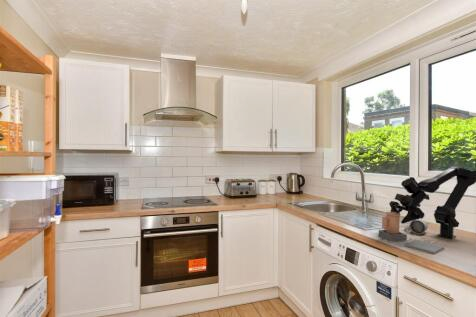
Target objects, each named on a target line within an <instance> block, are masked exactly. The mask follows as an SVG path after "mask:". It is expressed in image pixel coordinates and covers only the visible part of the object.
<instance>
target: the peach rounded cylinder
mask: <svg viewBox="0 0 476 317" xmlns="http://www.w3.org/2000/svg"><path fill="white" fill-rule="evenodd" d="M400 217H401V212H400V213H396V212H390V211H386V212H385V215H384V216H381V219H382V220H381V228H382V230H386V233H388V234H391V235H395V234H399V232H400V222H401V220H400V219H401V218H400Z"/></svg>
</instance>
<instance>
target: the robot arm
mask: <svg viewBox="0 0 476 317" xmlns="http://www.w3.org/2000/svg"><path fill="white" fill-rule="evenodd" d="M455 177H456V184H455V186H454V188H453V189H452V191H451V193H450V194H449V195H448V198H447V199H446V201H445V203H444V204H443V205H437V207H436V209H435V210H434V211H433V212H434V214H433V216H434V220H435V223H436V224H439V233H438V234H437V235H436V236H437V237H441V238H446V239H451V240H452V239H454V238H456V237H457V236H456V235H454V232H455V231H454V228H458V227H459V225H460V222H459V221H458V220H457V218H456V215H457V213H456V209H457V207H458V206H459V204H460V202H461V200H462V198H463V197H464V195H465V193H466V192H467V190H468V188H469V187H471V186H473V185H475V184H476V170H473V169H466V168H462V167H460V166H449V167H448V168H447V169H446V170H444V171H442V172H441V173H438V174H437V175H436V176H434V177H432V178H426V179H424V180H420V181H419V182H418V181H417V180H416V178H415V177H411V176H410V177H409V178H406V179H404V180H402V182H401V183H400V184H401V186H402V187H403V189H404V190H405V191H406V193H408V194H400V193H396V195H395V197H394V200H396V201H394V200H390V202H389V203H388V204H389V207H390V210H389V212H396V213H400V214H401V212H402V211H406V212H407V214H406V215H405V216H404V217H403V218H402V220H400V223H401V224H406V223H410V222H411V221H413V220H416V219H422V220H423V219H424V217H425V213H424V212H423V210H422V209H421V208H420V207H421V203H422V202H423V201H424V200H428V201H429V200H430V194H434V193H435V192H436V191H438V190H439V189H440V186H441V185H442V184H444V183H446V182H448V181H450V180H451V179H453V178H455ZM427 193H430V194H427Z"/></svg>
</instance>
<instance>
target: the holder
mask: <svg viewBox="0 0 476 317" xmlns="http://www.w3.org/2000/svg"><path fill="white" fill-rule="evenodd" d="M378 236H379V237H381V238H383V239H385V240H386V241H387V240H388V241H390V242H402V241H403V242H406V241H407V240H408V234H406V233H404V232H402V231H399V234H395V235H391V234H388V233H386V230H385V229H378Z"/></svg>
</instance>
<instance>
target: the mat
mask: <svg viewBox="0 0 476 317" xmlns="http://www.w3.org/2000/svg"><path fill="white" fill-rule="evenodd" d="M403 246H404V247H406V248H409V249H414V250H418V251H421V252H425V253H429V254H433V255H437V253H439V252H441V251H443V250H444V249H445V246H442V245H438V244H434V243H430V242H426V241H423V240H419V239H412V240H410V241H409V242H406V243H404V245H403Z"/></svg>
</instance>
